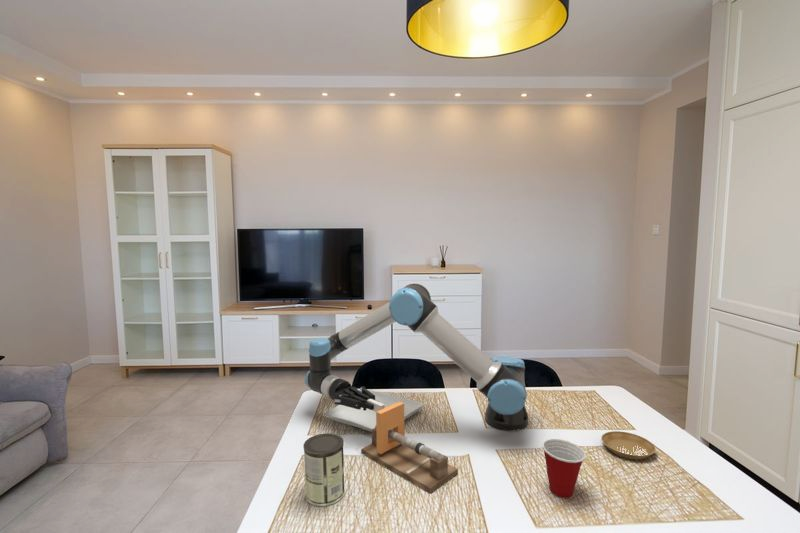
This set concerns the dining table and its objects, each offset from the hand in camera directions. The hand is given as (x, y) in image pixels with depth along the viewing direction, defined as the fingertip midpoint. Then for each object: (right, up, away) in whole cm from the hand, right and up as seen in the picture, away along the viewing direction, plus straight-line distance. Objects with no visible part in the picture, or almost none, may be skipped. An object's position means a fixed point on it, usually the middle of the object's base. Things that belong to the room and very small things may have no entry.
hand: (382, 409), depth 129 cm
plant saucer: (+76, -13, +1) cm, 78 cm away
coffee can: (-14, -16, -19) cm, 29 cm away
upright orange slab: (+2, -11, -1) cm, 11 cm away
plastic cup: (+48, -15, -19) cm, 54 cm away
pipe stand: (+8, -14, -6) cm, 17 cm away
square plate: (-4, -12, +25) cm, 28 cm away
